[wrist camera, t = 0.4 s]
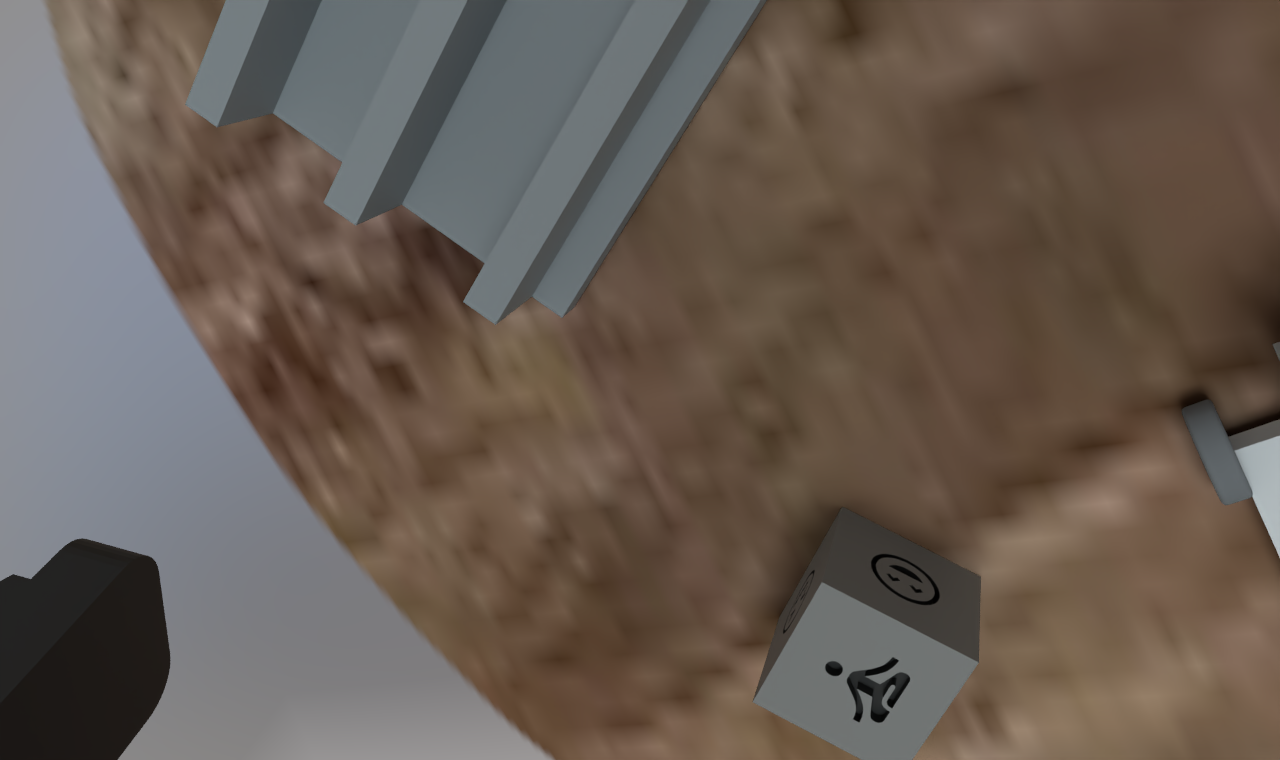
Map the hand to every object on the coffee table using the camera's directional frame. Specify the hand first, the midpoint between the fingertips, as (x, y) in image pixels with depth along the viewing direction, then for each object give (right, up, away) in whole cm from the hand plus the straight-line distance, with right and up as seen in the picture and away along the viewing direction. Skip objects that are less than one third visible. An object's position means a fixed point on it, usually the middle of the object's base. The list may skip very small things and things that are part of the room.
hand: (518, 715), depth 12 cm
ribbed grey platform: (-3, +16, +23) cm, 28 cm away
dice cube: (+9, -4, +28) cm, 29 cm away
